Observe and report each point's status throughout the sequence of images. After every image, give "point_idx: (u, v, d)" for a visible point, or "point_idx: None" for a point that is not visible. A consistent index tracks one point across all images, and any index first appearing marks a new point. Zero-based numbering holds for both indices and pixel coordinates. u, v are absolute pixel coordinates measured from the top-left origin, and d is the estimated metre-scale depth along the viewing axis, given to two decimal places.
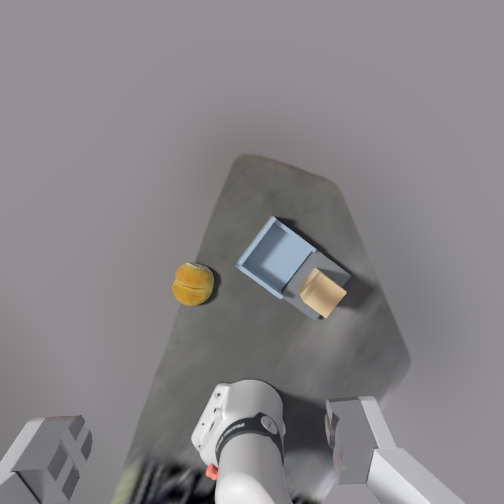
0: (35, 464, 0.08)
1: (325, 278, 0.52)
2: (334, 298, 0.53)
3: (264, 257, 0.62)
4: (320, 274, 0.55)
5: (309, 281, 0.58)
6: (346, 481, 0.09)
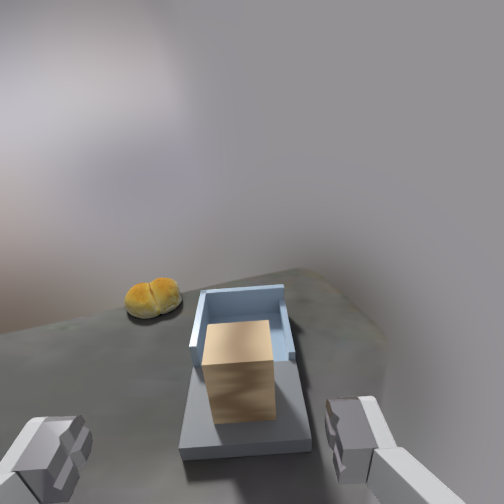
0: (35, 464, 0.08)
1: (265, 322, 0.29)
2: (246, 352, 0.26)
3: None
4: None
5: None
6: (346, 482, 0.09)
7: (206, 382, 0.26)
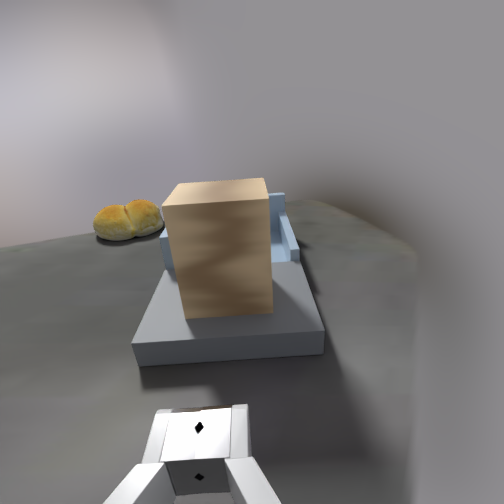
0: (181, 455, 0.08)
1: (259, 179, 0.21)
2: (230, 195, 0.17)
3: None
4: None
5: None
6: (210, 490, 0.09)
7: (170, 240, 0.17)
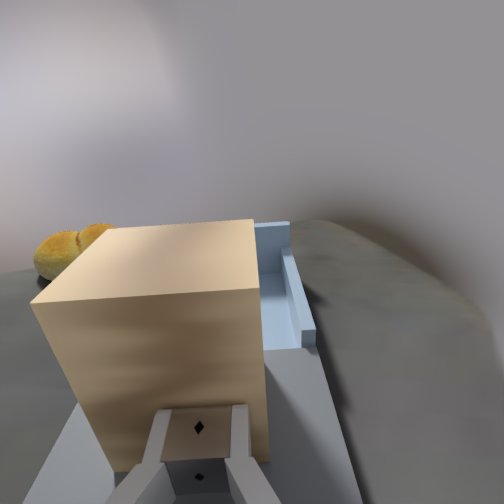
0: (181, 455, 0.08)
1: (245, 222, 0.12)
2: (182, 272, 0.09)
3: None
4: None
5: None
6: (210, 490, 0.09)
7: (62, 362, 0.09)
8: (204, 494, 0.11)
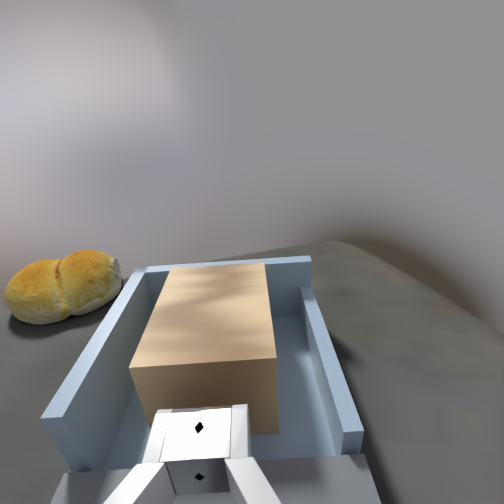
0: (181, 455, 0.08)
1: None
2: None
3: None
4: None
5: None
6: (210, 490, 0.09)
7: (165, 286, 0.17)
8: None
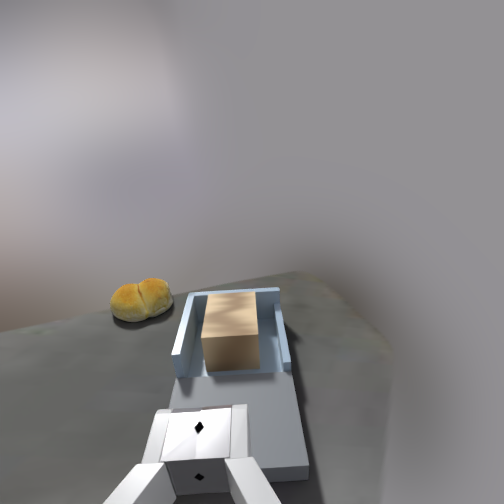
0: (181, 455, 0.08)
1: None
2: None
3: None
4: None
5: None
6: (210, 490, 0.09)
7: (207, 303, 0.36)
8: None
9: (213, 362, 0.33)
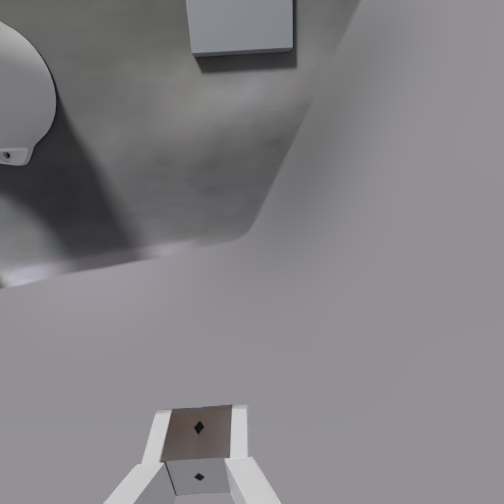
0: (181, 455, 0.08)
1: None
2: None
3: None
4: None
5: None
6: (210, 490, 0.09)
7: None
8: (245, 25, 0.34)
9: None
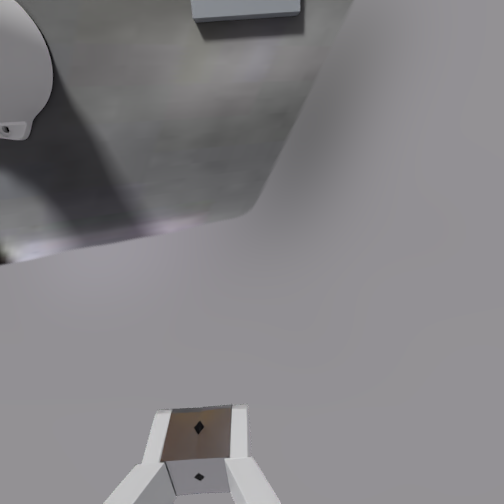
0: (181, 455, 0.08)
1: None
2: None
3: None
4: None
5: None
6: (210, 490, 0.09)
7: None
8: None
9: None
